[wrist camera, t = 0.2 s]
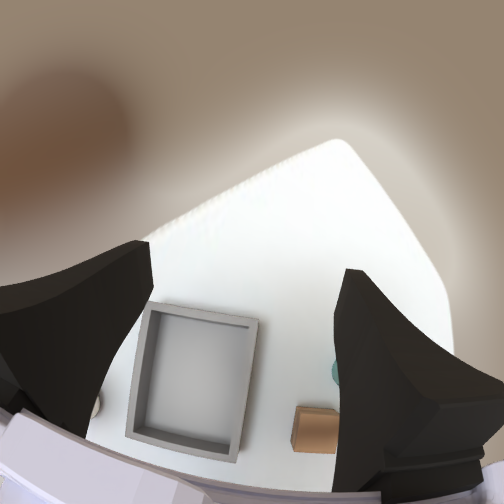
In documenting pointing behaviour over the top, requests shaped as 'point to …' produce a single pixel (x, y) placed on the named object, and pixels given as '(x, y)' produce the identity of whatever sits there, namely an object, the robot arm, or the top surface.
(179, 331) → the tote
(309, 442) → the walnut cube
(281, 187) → the top surface
